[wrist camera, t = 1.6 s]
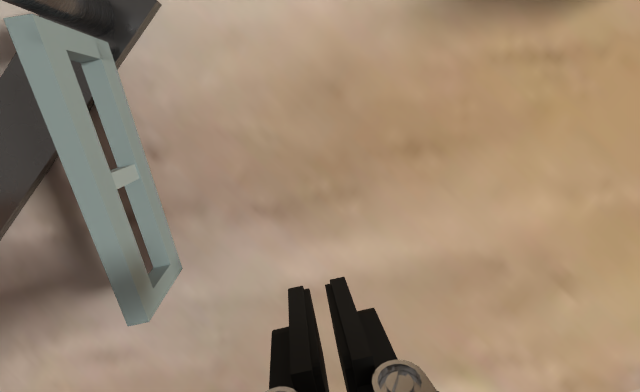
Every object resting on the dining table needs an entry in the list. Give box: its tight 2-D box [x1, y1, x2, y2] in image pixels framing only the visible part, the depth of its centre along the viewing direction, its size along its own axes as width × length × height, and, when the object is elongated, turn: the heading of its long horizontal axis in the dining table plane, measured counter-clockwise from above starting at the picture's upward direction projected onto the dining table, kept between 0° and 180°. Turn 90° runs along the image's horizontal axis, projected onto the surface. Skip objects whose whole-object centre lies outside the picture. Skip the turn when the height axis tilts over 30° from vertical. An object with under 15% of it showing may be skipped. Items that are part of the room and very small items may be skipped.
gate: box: [3, 14, 182, 326], centre depth 24 cm, size 20×2×8 cm, turn 10°
